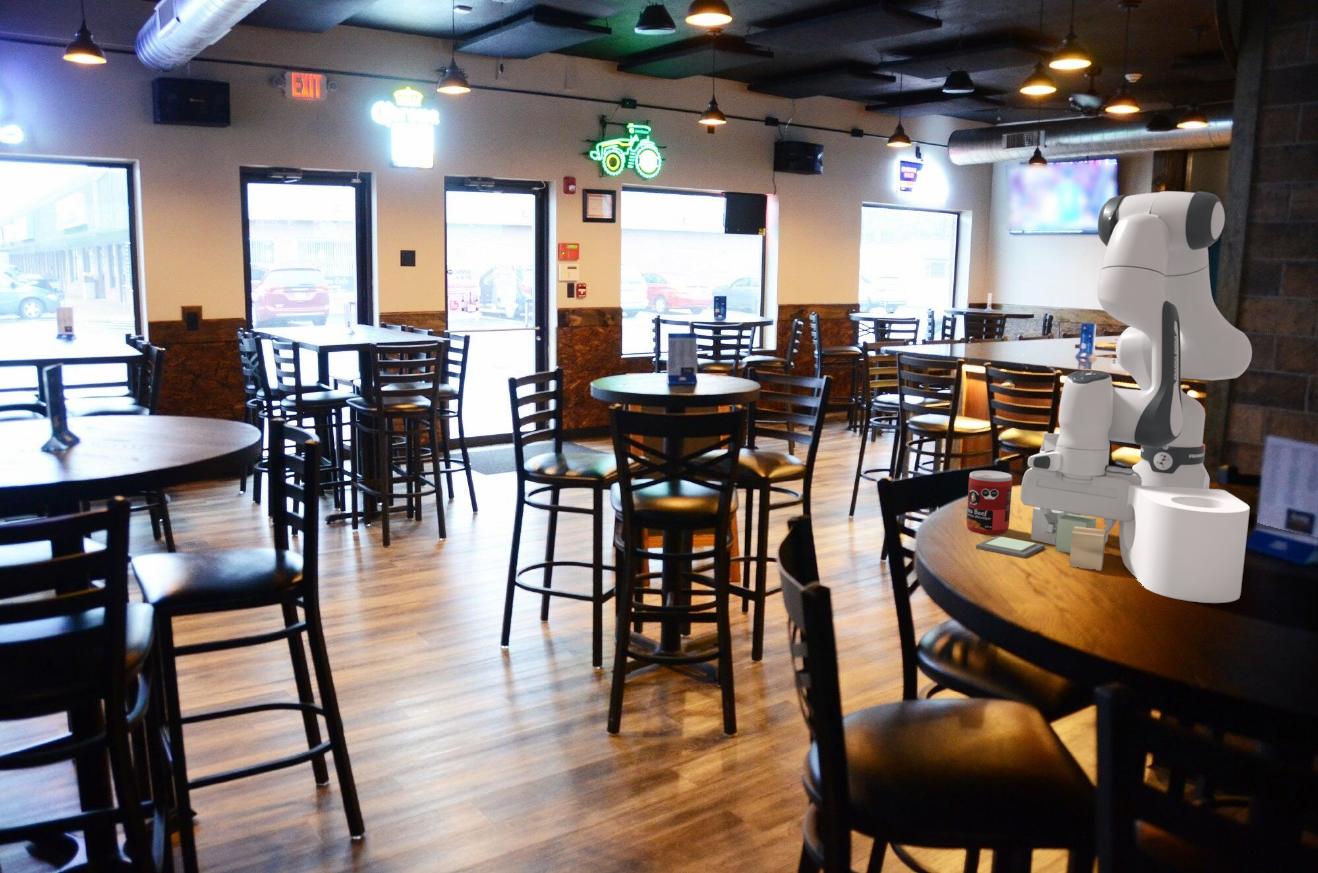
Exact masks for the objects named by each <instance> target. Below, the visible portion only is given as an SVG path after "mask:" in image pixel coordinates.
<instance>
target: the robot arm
mask: <svg viewBox="0 0 1318 873" xmlns="http://www.w3.org/2000/svg"><path fill="white" fill-rule="evenodd" d="M1225 217H1226V216H1225V209H1224V203H1223V202H1222V200H1221V199H1220V198H1219V197H1218V195H1216V194H1215V193H1210V192H1208V191H1207V192H1205V191H1199V190H1198V191H1196V192H1191V191H1190V192H1189V191H1175V190H1173V191H1172V190H1170V191H1169V190H1166V191H1165V190H1164V191H1159V192H1145V193H1137V194H1133V195H1130V194H1121V195H1117V196H1113V197H1111V198H1109V199H1108V200H1107V201H1106V202H1104V204H1103V205H1102V206H1101V209H1100V211H1099V215H1098V219H1097V220H1098V221H1097V231H1098V232H1097V234H1098V236H1099V240H1100V241H1101V242H1102V243H1103V244H1104V246H1106V249H1105V252H1104V256H1103V259H1102V263H1101V268H1100V273H1099V277H1098V284H1097V299H1098V301H1099V304H1100V306H1101V307H1102V309H1103V310H1104V311H1105V312H1106V313H1107V314H1108V315H1109V316H1110V317H1112V318H1113V319H1115V320H1116V321H1118V322H1121V323H1123V325H1124V324H1125V325H1126V326H1128V327H1127V328H1126V329H1125V330H1124V331H1123V332H1122V333H1121V334H1120V336H1119V337H1118V340H1117V342H1116V345H1115V355H1116V356H1115V357H1116V358H1117V362H1118V364H1119V365H1120V367H1121V369H1123V370H1124V371H1125V372H1127V374H1129V375H1130V376H1131V377H1132V379H1133V380H1134V381H1135V382H1136V384H1137V386H1138V387H1139V389H1132V388H1131V389H1130V388H1120V387H1114V386H1113V378H1112V375H1111V374H1110V373H1108V372H1106V371H1103V370H1097V369H1084V370H1076V371H1074V372H1073V371H1072V372H1071V373H1070V374H1068V375H1067V376H1066V377H1065V379H1064V383H1063V388H1062V391H1061V396H1060V401H1059V409H1058V410H1059V411H1058V423H1059V433H1058V434H1059V437H1058V440H1057V445H1056V450H1050V451H1047V452H1043V453H1040V452H1038V453H1036V454H1033V455H1031V456H1029V457H1028V459H1027V466H1028V467H1029V468H1027V470H1026V471H1025V472H1024V475H1023V477H1022V481H1021V485H1020V486H1021V487H1020V494H1019V498H1020V502H1022V504H1023V505H1024V506H1027V507H1028V506H1029V507H1034V508H1036V507H1039V508H1040V515H1041V517H1042V519H1043V521H1044V523H1045V533H1051V534H1054V533H1055V532H1056V525H1057V523H1053V522H1052V520H1051V518H1050V515H1049V513H1051V512H1052V510H1057V511H1063V512H1069V513H1075V514H1081V516H1086V517H1092V518H1099V519H1100V518H1101V519H1103V525H1105V527H1104V528H1103V530H1106V535H1105V544H1106V543H1107V542H1108V539H1109V538H1108V537H1109V533H1110V532H1111V530H1112V529H1113V528H1114V527H1115V525H1116V524H1117V521H1118V522H1120V521H1123V522H1131V521H1133V520H1134V519H1135V511H1134V508H1133V507H1128V508H1127V502H1128V488H1129V486H1130V485H1141V486H1161V487H1182V488H1202V489H1210V476H1209V473H1208V472H1207V469H1206V468H1205V465H1204V462H1205V455H1206V444H1205V443H1204V442H1203V441H1204V432H1205V421H1206V412H1205V409H1204V406H1203V405H1202V404H1201V402H1199V401H1198V400H1197V399H1195V398H1194V397H1192V396H1190V395H1188V394H1187V393H1185V392H1184V391H1183V390H1182V388H1181V387H1182V386H1181V384H1182V383H1181V379H1189V380H1191V379H1193V380H1200V381H1201V380H1203V381H1218V380H1230V379H1237V378H1239V377H1240V376H1241V375H1243V373H1245V371H1246V370H1247V369H1248V368H1249V365H1250V363H1251V362H1252V355H1253V348H1252V344H1251V342H1250V339H1249V337H1248V336H1247V335H1246V333H1244V332H1243V331H1242V330H1240V329H1238V328H1236V327H1235V326H1234V325H1232V324H1231V323H1230V322H1229V321H1228V320H1227V319H1226V318H1225V316H1223V315H1222V313H1221V312H1220V310H1219V309H1218V307H1217V306H1216V304H1215V302H1214V298H1213V295H1212V288H1211V279H1210V264H1209V263H1210V261H1209V249H1208V248H1209V247H1211V246H1212V245H1213V244H1215V243H1216V242H1217V241H1218V240H1219V239H1220V236H1221V235H1222V231H1223V229H1224V226H1225V219H1226V218H1225ZM1110 441H1112V442H1122V443H1127V444H1128V443H1129V444H1136V445H1137V446H1140V455H1139V456H1140V458H1141V459H1140V461H1139V462H1137V463H1135V464H1134V465H1132V468H1129V467H1126V468H1123V467H1119V466H1114V465H1109V460H1110V449H1111V448H1110V447H1111V445H1110V444H1111V443H1110Z"/></svg>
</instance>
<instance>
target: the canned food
mask: <svg viewBox="0 0 1318 873" xmlns="http://www.w3.org/2000/svg"><path fill="white" fill-rule="evenodd" d="M1012 488H1013V475H1012V474H1010V473H1008V472H1003V471H998V470H974V471H971V472H970V473H969V477H968V491H967V492H968V493H967V507H966V508H967V510H966V522H965V523H966V524H965V525H966V528H967V530H969V531H970V532H973V533H977V534H983V535H1001V534H1005V533H1007V532H1008V530H1009V527H1010V518H1011V517H1010V516H1011V515H1010V514H1011V504H1012V502H1011V501H1012V490H1013V489H1012Z"/></svg>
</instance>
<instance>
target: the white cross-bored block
mask: <svg viewBox="0 0 1318 873" xmlns="http://www.w3.org/2000/svg"><path fill="white" fill-rule="evenodd" d="M1128 507H1133V508H1134V511H1135V519H1134V520H1133V521H1131V522H1123V521H1119V527H1118V529H1119V533H1118V534H1119V536H1118V537H1119V548H1120V556H1121V558H1122V563H1123V565H1124V566H1125V567H1126V568H1127V570H1128V571H1129V572H1130V573H1131V575H1134V576H1135V577H1136V578H1137V579H1136V578H1135V577H1134V576H1133V577H1134V578H1135V579H1136V581H1138V583H1139V582H1140V583H1141V584H1142V585H1141V584H1140V583H1139V584H1140V585H1141V586H1142V587H1143V586H1144V587H1143V588H1144V589H1146V590H1148V591H1150V592H1152V593H1154V594H1158V595H1160V596H1164V597H1166V598H1172V599H1176V600H1182V601H1187V602H1194V603H1195V602H1197V603H1204V604H1206V603H1207V604H1208V603H1209V604H1220V603H1223V604H1224V603H1231V602H1234V601H1237V600H1239V599H1240V596H1241V593H1242V582H1243V574H1244V567H1245V566H1244V564H1245V556H1246V555H1245V554H1246V545H1247V536H1248V529H1249V528H1248V527H1249V520H1250V518H1249V517H1250V508H1251V507H1250V506H1249V505H1248V503H1246V502H1245V501H1243V500H1241V499H1240V498H1238V497H1236V496H1235V495H1233V494H1232V493H1229V491H1227V490H1225V489H1220V488H1209V489H1202V488H1182V487H1161V486H1141V485H1130V486H1129V488H1128V502H1127V508H1128Z"/></svg>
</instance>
